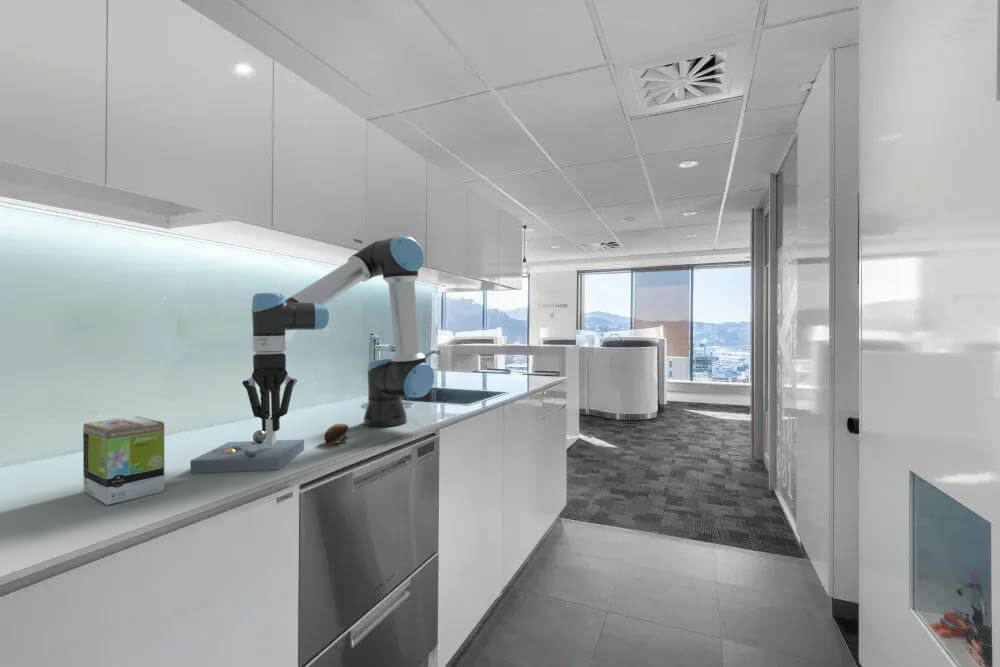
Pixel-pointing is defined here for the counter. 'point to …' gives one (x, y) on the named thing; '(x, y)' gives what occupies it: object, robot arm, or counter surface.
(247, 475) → the counter surface
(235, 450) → the copper ball
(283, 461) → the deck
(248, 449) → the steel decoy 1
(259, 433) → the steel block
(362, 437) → the counter surface
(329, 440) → the mushroom
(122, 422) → the tea box
